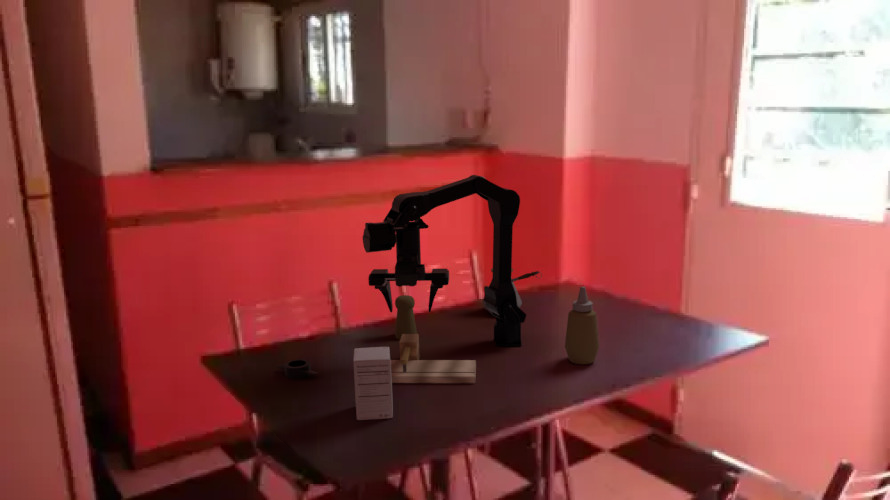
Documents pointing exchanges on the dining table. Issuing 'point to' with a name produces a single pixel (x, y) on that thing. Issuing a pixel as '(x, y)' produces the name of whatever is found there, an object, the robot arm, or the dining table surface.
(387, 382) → the supplement box
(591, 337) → the squeeze bottle
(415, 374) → the board
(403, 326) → the cork
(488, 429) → the dining table surface
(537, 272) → the coffee pot
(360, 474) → the dining table surface
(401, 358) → the gauge
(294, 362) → the dark ring with tabs
